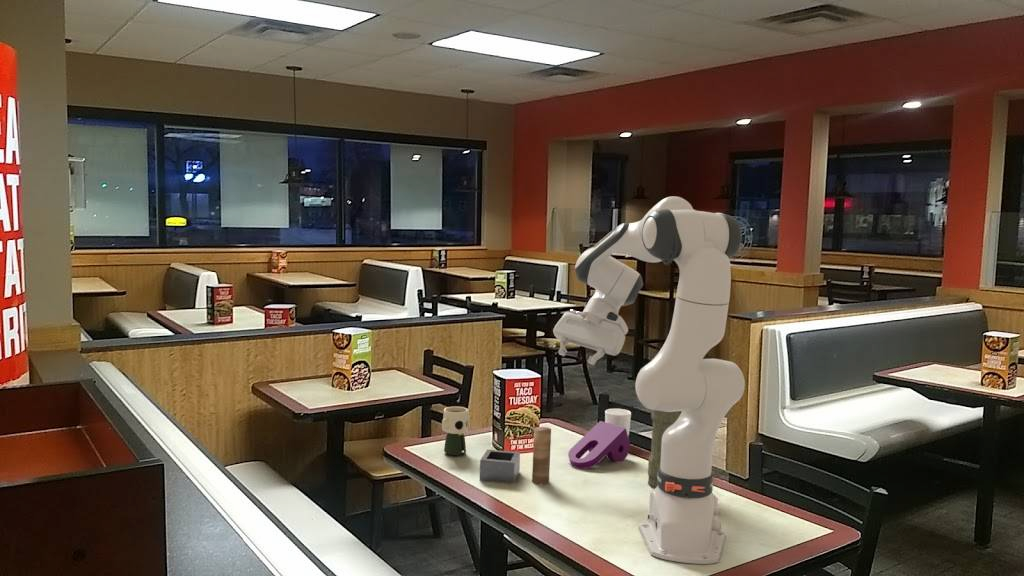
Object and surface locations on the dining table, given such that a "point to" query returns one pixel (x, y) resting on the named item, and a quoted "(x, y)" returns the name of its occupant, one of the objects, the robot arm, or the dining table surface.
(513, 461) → the metal well
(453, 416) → the character mug
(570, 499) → the dining table surface
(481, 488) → the dining table surface
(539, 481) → the walnut post
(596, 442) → the mounting bracket
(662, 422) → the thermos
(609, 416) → the white cup
